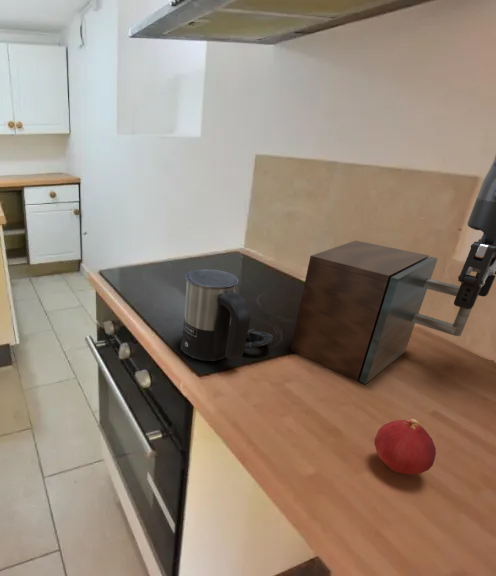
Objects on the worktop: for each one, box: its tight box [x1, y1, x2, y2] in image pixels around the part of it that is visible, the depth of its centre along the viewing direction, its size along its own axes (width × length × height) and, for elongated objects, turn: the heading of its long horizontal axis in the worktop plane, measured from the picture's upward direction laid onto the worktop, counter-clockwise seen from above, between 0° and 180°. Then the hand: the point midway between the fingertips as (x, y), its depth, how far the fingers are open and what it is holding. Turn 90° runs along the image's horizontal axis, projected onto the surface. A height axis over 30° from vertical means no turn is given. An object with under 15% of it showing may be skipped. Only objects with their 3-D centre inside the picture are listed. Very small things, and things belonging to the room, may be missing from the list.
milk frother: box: [179, 268, 274, 362], centre depth 71 cm, size 14×16×15 cm
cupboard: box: [290, 240, 430, 382], centre depth 69 cm, size 12×17×19 cm
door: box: [358, 256, 473, 385], centre depth 62 cm, size 8×17×19 cm, turn 126°
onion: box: [373, 418, 437, 475], centre depth 45 cm, size 6×6×8 cm
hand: (470, 300), depth 61 cm, fingers open, 8 cm apart
